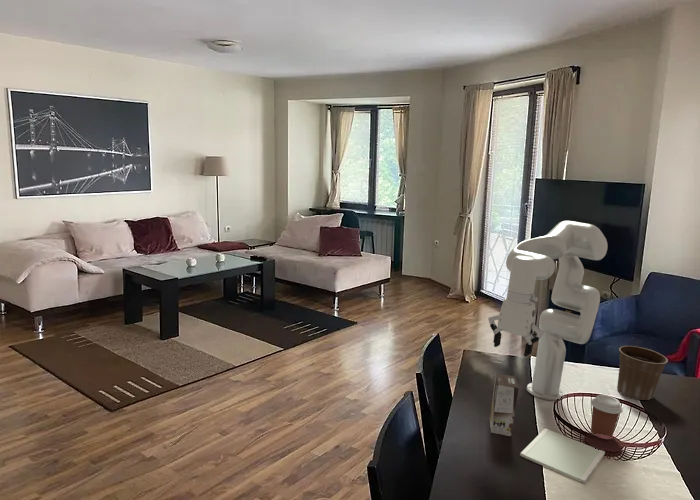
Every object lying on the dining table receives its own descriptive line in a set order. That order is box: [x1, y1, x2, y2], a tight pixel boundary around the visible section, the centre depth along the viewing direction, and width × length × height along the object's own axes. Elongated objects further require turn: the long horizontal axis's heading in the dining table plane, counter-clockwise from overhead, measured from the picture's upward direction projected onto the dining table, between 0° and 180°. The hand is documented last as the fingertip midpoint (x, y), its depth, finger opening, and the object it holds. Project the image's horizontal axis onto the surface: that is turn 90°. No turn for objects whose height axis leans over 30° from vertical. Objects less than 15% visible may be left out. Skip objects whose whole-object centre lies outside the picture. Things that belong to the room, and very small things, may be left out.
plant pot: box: [616, 345, 669, 401], centre depth 205 cm, size 16×16×16 cm
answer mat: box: [519, 427, 606, 484], centre depth 160 cm, size 20×18×1 cm
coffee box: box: [489, 373, 520, 437], centre depth 171 cm, size 9×6×16 cm
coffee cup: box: [590, 394, 624, 436], centre depth 173 cm, size 9×9×12 cm
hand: (511, 350), depth 168 cm, fingers open, 9 cm apart
